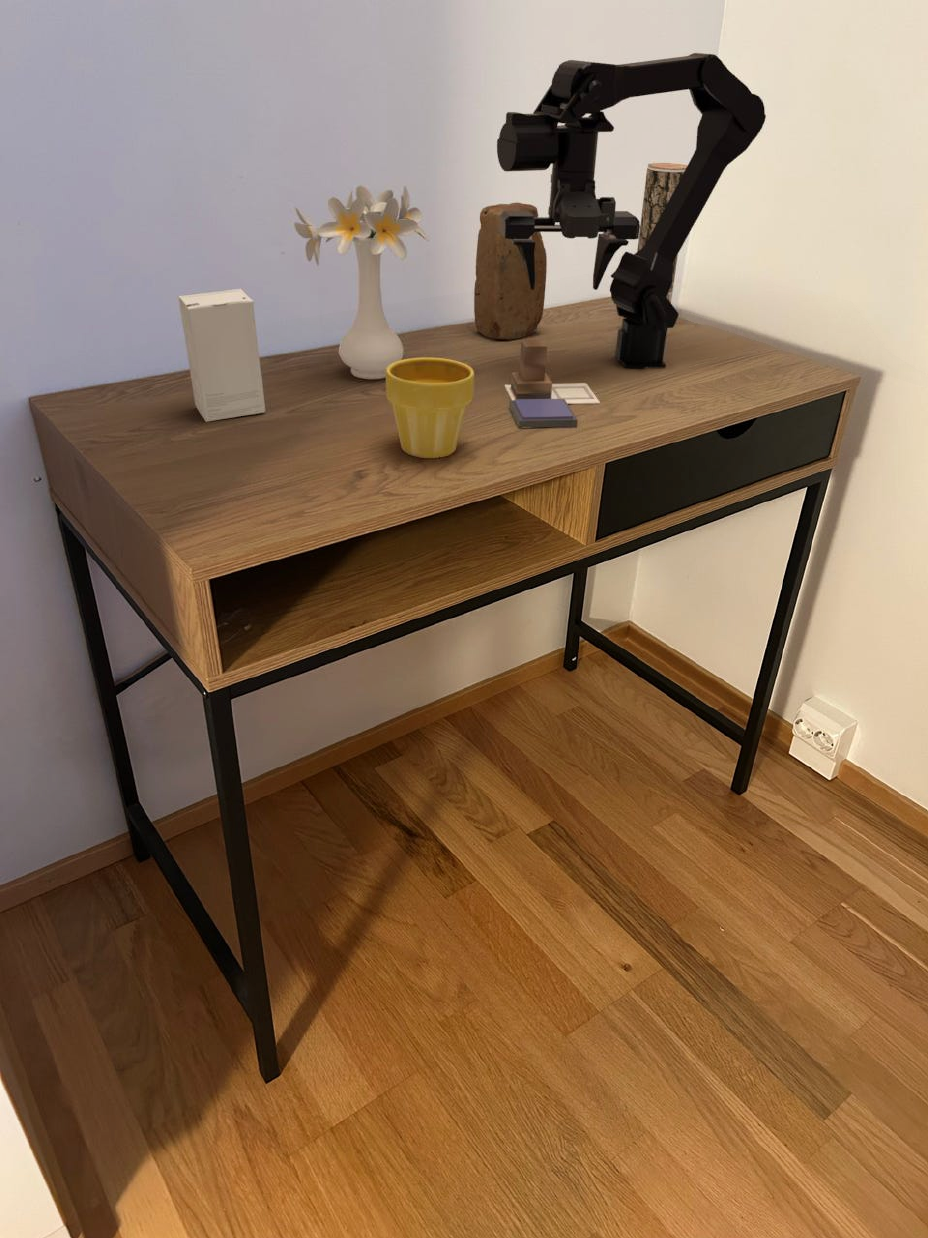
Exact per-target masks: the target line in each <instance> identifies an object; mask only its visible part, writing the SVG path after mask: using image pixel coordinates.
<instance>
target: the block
mask: <svg viewBox="0 0 928 1238" xmlns="http://www.w3.org/2000/svg"><path fill="white" fill-rule="evenodd" d="M504 210H518V211H529V212H530V213H531V214H532V215H533V216H534V217H539V212H538V208H537V207H536V206H535V205H533V204H530V203H529V204H527V203H522V202H511V203H499V204H498V203H497V204H492V205H488V206H485V207H484V208H483V207H482V209H481V210H480V212H479V222H480V229H479V230H478V235H477V245H476V258H475V277H476V279H475V281H474V289H473V290H474V292H473V309H474V310H473V311H474V314H473V315H474V325H475V328H476V330H477V331H478V332H480V334H481V335H482V336H484V337H486V338H489V339H492V340H505V341H507V340H508V341H510V340H516V339H521V338H523V337H524V336H525V337H526V336H527V337H528V336H530V335H532V334H534V333H535V331H536V330H537V329H538V326H539V324H540V323H541V321H542V318H543V314H544V306H545V299H546V286H547V285H546V283H547V272H548V271H547V266H548V262H547V260H548V259H547V258H548V256H547V250H546V247H545V244H544V240H543V236H542V234H541V233H542V232H534V234H533V235H532V239H533V240H534V241H535V242H536V244H535V251H534V259H535V286H534V290H531V289H530V286H529V282H528V278H527V274H526V271H525V267H524V263H523V259H522V256H521V254H520V251H519V249H518V246H517V245H514V244H513V243H512V242H511V241H510V240H509V239H506V238H504V237H503V235H502V234H501V233H500V232H499V218H500V215H501V214H502V212H503V211H504Z"/></svg>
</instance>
